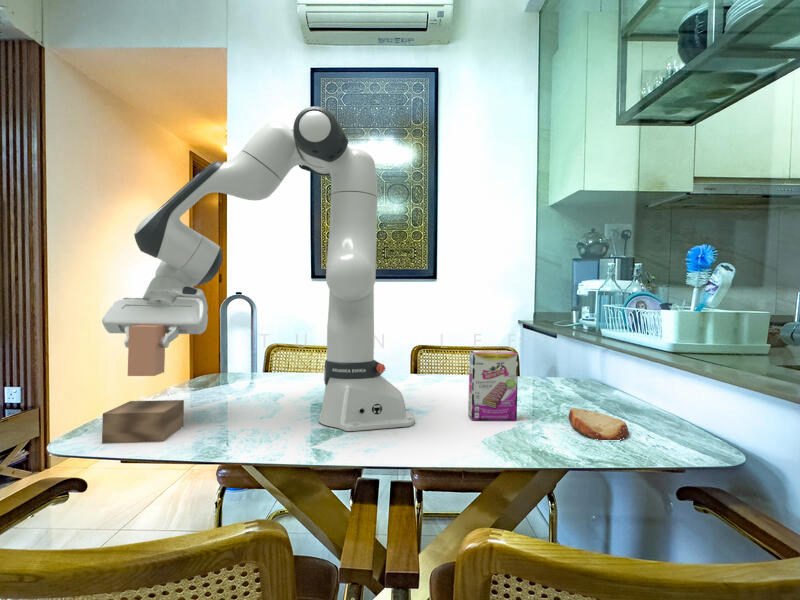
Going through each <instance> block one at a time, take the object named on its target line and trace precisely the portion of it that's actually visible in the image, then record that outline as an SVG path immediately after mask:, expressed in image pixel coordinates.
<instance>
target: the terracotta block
mask: <svg viewBox="0 0 800 600" xmlns="http://www.w3.org/2000/svg"><path fill="white" fill-rule="evenodd" d="M165 330H166V326H159V325H137V326H129V345H128V348H127V350H128V351H127V352H128V353H127V377H154V376H158V375H161V374H164V373H165V362H166V360H165V359H166V358H165V357H166V355H165V354H166V348H160V347H159V345H158V341H159V339H160V337H165V336H166V334H165Z"/></svg>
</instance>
